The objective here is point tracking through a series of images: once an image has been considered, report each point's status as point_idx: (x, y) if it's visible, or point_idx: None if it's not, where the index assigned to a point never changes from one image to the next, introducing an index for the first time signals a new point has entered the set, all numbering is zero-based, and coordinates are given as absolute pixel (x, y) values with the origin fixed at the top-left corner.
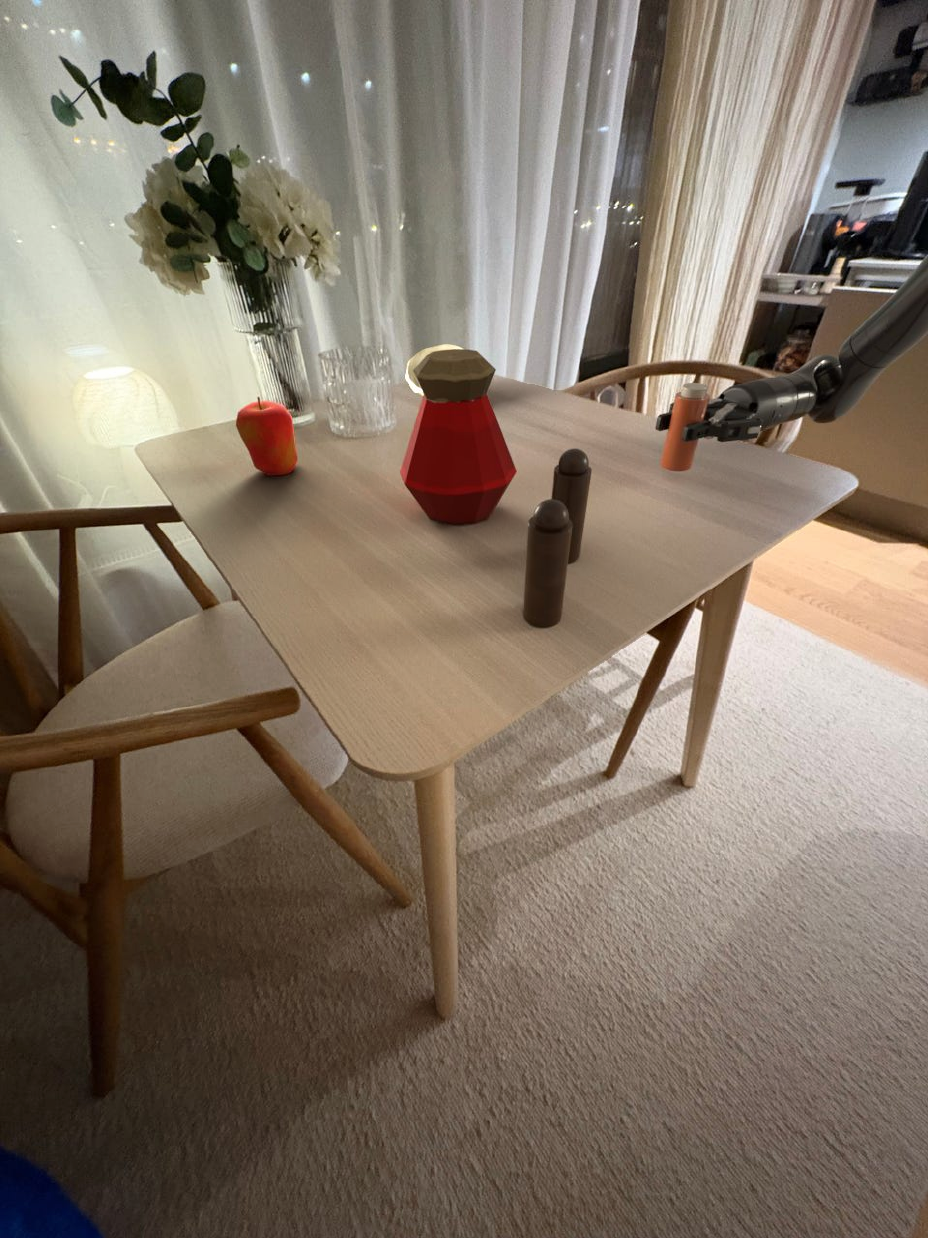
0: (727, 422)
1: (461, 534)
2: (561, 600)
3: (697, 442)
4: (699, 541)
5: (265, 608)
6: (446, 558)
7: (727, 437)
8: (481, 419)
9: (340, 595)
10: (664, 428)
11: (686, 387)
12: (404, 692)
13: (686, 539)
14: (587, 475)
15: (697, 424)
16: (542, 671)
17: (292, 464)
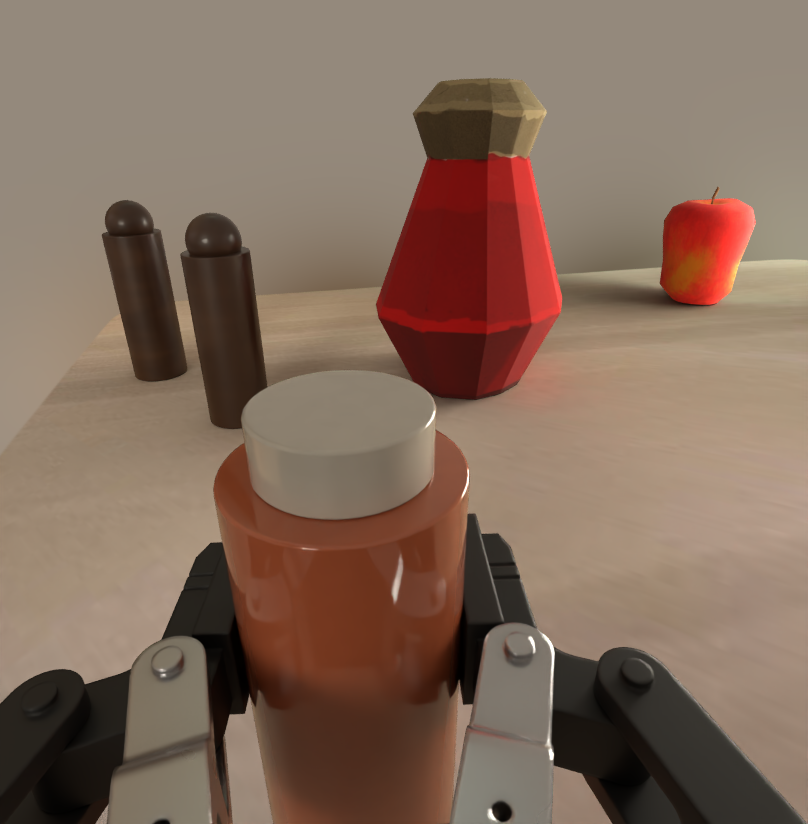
0: (33, 684)
1: (393, 365)
2: (127, 342)
3: (261, 752)
4: (14, 594)
5: (364, 289)
6: (346, 350)
7: (34, 805)
8: (417, 194)
9: (345, 307)
10: None
11: (355, 374)
12: (187, 314)
13: (54, 576)
14: (181, 254)
15: (219, 560)
16: (102, 355)
17: (680, 290)
